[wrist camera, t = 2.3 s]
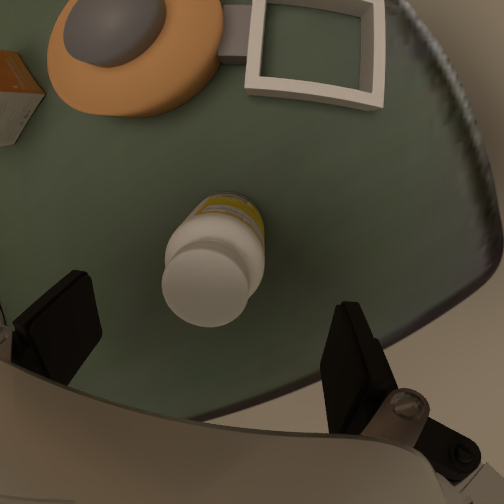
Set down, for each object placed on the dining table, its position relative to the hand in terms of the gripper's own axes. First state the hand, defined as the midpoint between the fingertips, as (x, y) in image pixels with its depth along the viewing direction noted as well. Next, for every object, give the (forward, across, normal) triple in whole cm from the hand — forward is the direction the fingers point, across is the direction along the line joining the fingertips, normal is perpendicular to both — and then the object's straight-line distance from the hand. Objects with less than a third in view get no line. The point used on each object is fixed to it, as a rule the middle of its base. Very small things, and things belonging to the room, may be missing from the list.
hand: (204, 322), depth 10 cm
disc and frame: (+12, +2, -14) cm, 19 cm away
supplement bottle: (+13, +1, 0) cm, 13 cm away
